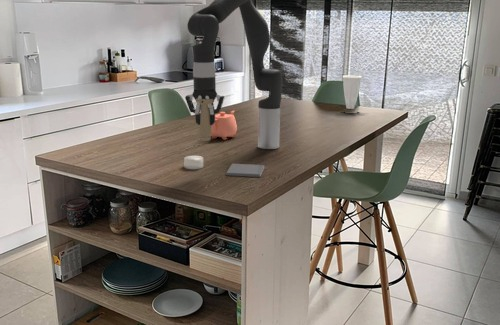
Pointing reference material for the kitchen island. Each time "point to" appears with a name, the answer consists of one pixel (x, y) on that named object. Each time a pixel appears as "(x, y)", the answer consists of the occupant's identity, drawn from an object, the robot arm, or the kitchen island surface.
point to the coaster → (245, 170)
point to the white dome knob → (193, 162)
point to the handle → (205, 118)
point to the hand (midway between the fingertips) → (205, 124)
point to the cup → (351, 90)
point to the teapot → (224, 125)
